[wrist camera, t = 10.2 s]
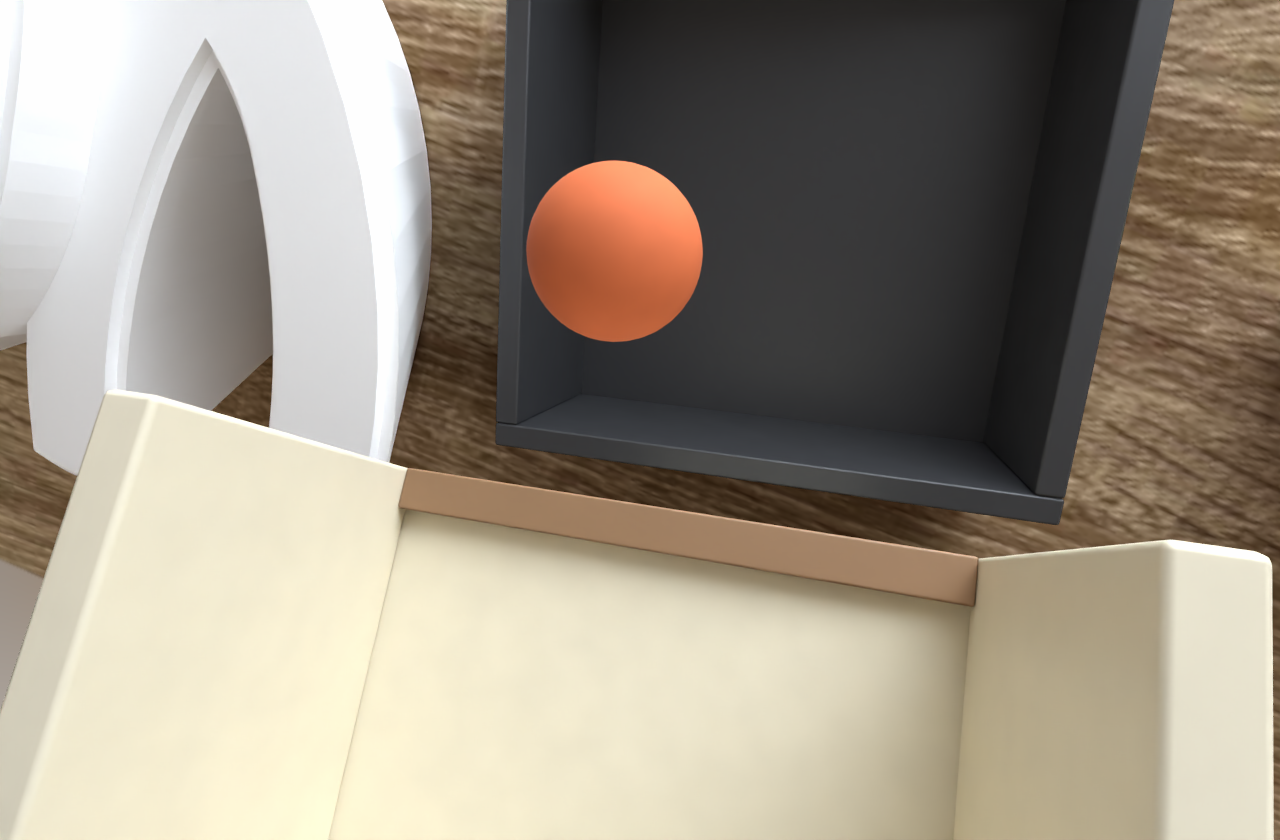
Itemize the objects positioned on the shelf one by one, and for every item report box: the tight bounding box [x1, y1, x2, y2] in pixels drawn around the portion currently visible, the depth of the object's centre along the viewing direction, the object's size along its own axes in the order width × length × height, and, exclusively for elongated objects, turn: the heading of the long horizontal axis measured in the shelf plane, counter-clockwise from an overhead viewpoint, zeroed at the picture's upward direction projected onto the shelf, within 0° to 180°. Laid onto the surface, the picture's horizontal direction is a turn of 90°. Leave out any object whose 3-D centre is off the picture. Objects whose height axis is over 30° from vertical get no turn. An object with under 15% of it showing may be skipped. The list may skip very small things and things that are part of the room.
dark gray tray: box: [496, 0, 1174, 525], centre depth 17 cm, size 15×13×6 cm
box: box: [0, 389, 1274, 840], centre depth 9 cm, size 5×6×12 cm
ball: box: [526, 161, 703, 342], centre depth 9 cm, size 2×2×2 cm
